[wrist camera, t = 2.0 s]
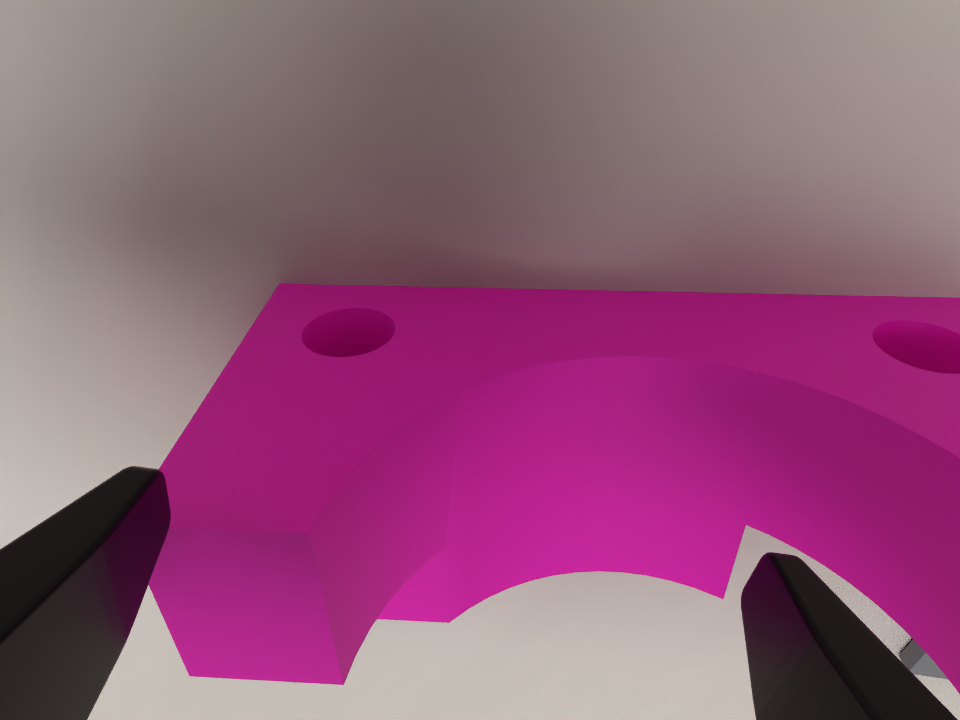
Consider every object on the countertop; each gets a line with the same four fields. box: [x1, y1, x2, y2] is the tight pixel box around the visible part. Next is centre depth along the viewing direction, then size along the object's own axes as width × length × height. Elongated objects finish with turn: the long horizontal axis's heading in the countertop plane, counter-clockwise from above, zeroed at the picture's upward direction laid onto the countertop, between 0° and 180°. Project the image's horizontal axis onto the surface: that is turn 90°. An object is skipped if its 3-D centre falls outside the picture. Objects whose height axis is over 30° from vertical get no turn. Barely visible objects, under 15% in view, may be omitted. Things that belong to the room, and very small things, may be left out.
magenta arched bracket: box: [149, 284, 960, 694], centre depth 14 cm, size 15×6×8 cm, turn 91°
